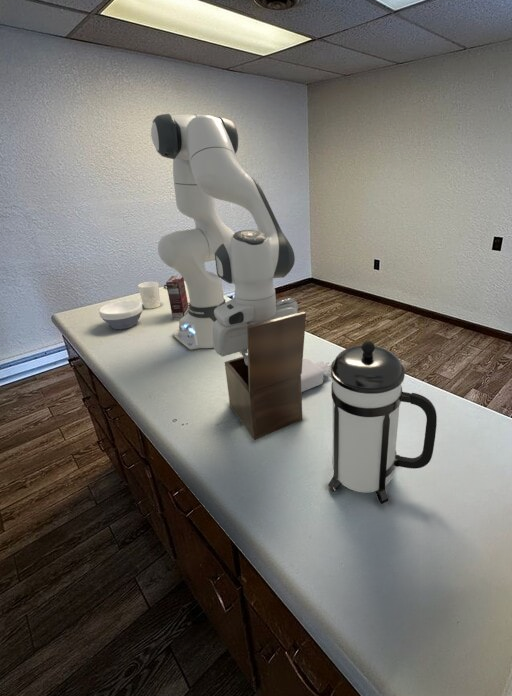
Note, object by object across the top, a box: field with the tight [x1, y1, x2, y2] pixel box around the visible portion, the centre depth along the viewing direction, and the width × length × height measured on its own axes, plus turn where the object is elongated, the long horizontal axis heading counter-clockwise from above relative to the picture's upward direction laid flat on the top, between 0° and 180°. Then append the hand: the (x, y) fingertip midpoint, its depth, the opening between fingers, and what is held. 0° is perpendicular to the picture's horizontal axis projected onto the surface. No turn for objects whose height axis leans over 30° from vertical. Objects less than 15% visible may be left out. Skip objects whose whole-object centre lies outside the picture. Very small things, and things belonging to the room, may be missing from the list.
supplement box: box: [165, 275, 189, 321], centre depth 145 cm, size 9×5×16 cm, turn 6°
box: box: [224, 356, 303, 441], centre depth 88 cm, size 16×13×13 cm
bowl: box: [98, 299, 144, 330], centre depth 138 cm, size 14×14×8 cm
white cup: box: [137, 281, 162, 310], centre depth 156 cm, size 8×8×10 cm
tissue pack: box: [301, 358, 331, 393], centre depth 103 cm, size 5×9×15 cm
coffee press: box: [323, 340, 438, 505], centre depth 66 cm, size 17×16×30 cm
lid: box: [247, 311, 307, 392], centre depth 75 cm, size 16×13×1 cm
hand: (260, 360), depth 85 cm, fingers closed on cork, 4 cm apart
